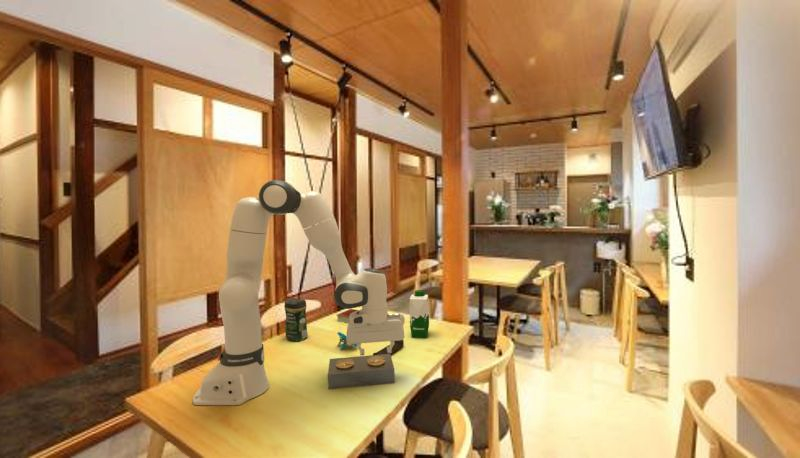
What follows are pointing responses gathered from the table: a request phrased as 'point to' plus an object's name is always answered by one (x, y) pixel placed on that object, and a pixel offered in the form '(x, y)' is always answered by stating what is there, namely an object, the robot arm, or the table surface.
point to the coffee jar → (295, 319)
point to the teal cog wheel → (342, 337)
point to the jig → (359, 372)
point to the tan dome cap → (376, 361)
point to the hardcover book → (345, 315)
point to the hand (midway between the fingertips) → (375, 353)
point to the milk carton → (419, 314)
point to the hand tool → (396, 347)
